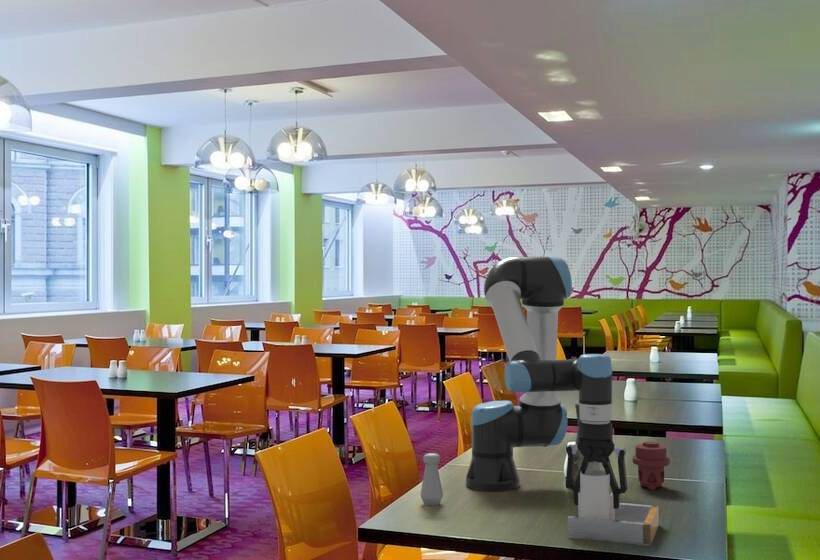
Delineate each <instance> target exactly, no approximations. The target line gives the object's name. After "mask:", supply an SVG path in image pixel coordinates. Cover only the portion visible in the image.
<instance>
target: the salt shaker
mask: <svg viewBox="0 0 820 560" xmlns="http://www.w3.org/2000/svg"><path fill="white" fill-rule="evenodd" d="M422 461H423V463H424V464H425V465H424V466H425V467H424V471H423V477H422V483H421V490H420V499H421V500H422V503H423V504H424V505H425V506H427V505H428V506H427V507H436V506H440V505H441V502H442V499H443V496H444V493H443V492H444V491H443V488H442V487H443V486H442V482H441V477H440V473H439V468H438V467H439V465H438V464H439V463H440V462H441V458H440V455H439V454H438V453H434V452H429V453H425V454H424V455H423V458H422ZM439 504H440V505H439ZM430 505H432V506H430ZM435 505H436V506H435Z"/></svg>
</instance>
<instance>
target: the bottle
mask: <svg viewBox="0 0 820 560" xmlns="http://www.w3.org/2000/svg"><path fill="white" fill-rule="evenodd" d="M574 406H575V412H576V414H575V415H576V420H577V427H578V428H577V432H576V433H577V434H576V436H575V444H574V445H576V444H578V442H579V423H580V422H581V421H582V420H580V419H579V399H577V401H575V404H574ZM583 458H584V456H583V455H582V453H581V452H580V451H579V449H577V453H576V454H575V464H574V476H573V483H574V484H575V482H576V479H577V476H578V474H579V471H580V468H581V465H582V461H583ZM587 470H601V466H600V463H599V462H596V461H595V462H589V464H588V467H587Z"/></svg>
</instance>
